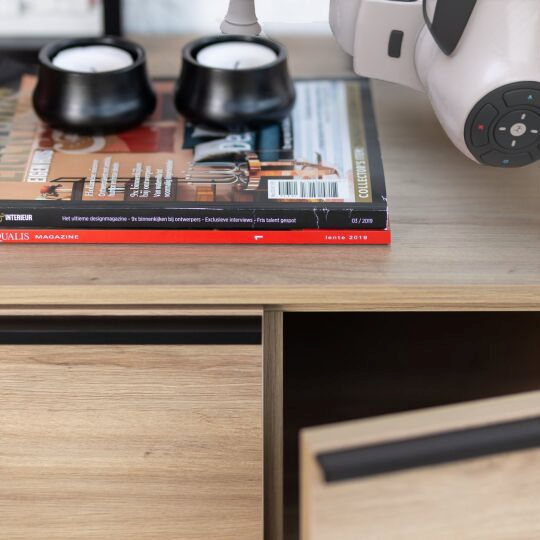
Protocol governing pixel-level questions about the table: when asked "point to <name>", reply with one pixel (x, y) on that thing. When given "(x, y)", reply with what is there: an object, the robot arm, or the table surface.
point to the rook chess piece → (241, 19)
